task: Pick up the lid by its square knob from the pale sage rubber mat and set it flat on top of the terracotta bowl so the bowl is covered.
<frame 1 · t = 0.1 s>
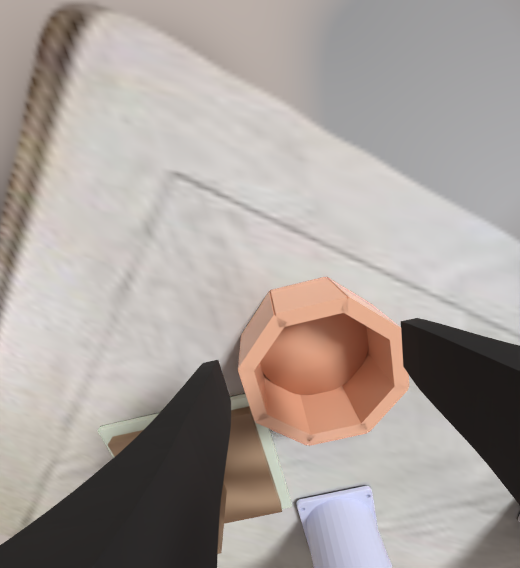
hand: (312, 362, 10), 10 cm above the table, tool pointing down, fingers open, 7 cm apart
bowl: (310, 343, 21), on the table
lid: (202, 471, 24), resting on mat
mat: (203, 466, 24), on the table
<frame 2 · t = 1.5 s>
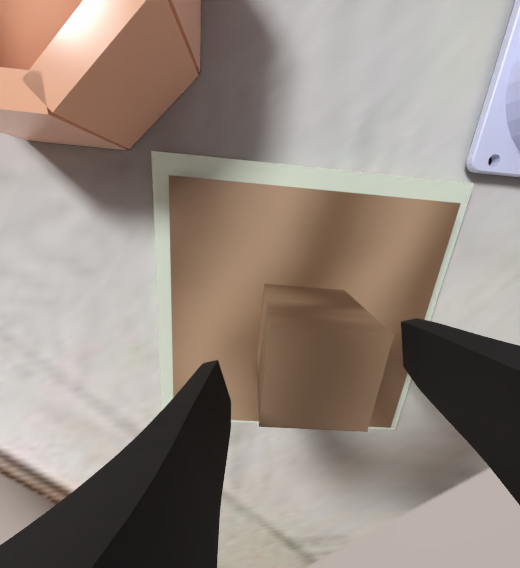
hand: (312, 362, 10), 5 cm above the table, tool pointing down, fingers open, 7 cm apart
lid: (296, 317, 13), resting on mat
mat: (295, 313, 14), on the table
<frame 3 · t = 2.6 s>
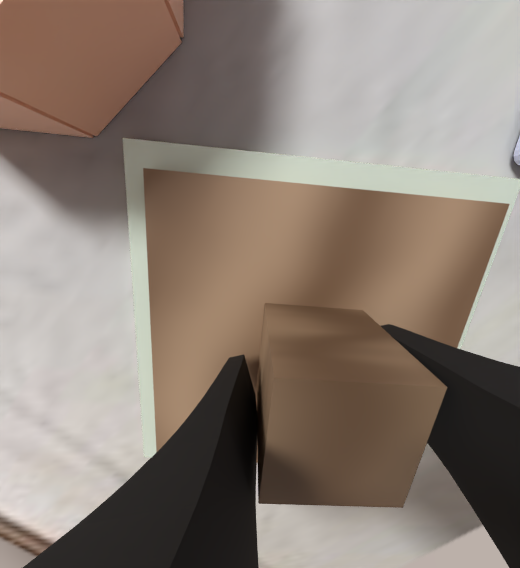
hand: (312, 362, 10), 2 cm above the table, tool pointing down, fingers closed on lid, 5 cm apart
lid: (303, 340, 11), resting on mat, touching gripper
mat: (301, 335, 12), on the table
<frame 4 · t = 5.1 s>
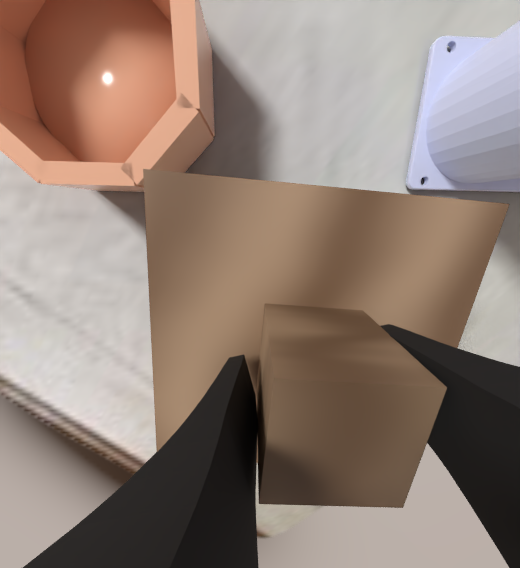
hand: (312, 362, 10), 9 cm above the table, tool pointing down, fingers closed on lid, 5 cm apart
bowl: (119, 92, 14), on the table
lid: (303, 340, 11), point 7 cm above the table, touching gripper
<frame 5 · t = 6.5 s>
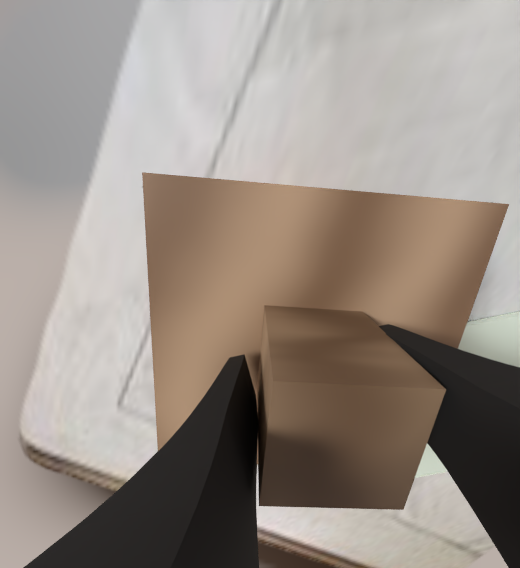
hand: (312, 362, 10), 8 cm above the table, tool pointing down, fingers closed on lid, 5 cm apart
lid: (303, 342, 11), point 7 cm above the table, touching gripper
mat: (439, 404, 21), on the table
when the fingers open (8 cm above the table, at t = 7.5 s): lid drops 1 cm, resting on bowl.
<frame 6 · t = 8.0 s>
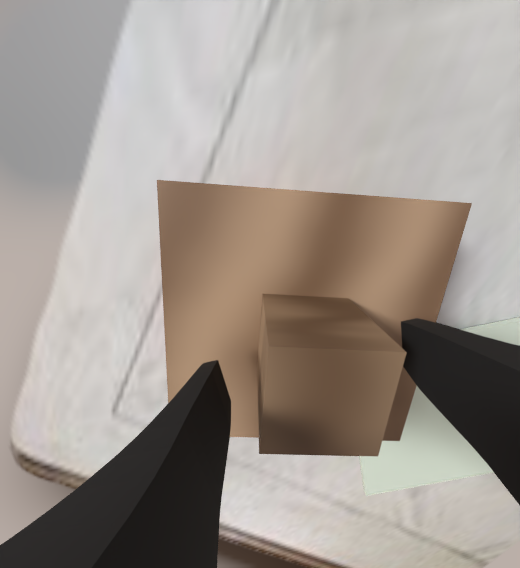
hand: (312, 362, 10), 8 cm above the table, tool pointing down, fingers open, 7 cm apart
lid: (297, 327, 13), point 4 cm above the table, touching bowl
mat: (445, 411, 20), on the table
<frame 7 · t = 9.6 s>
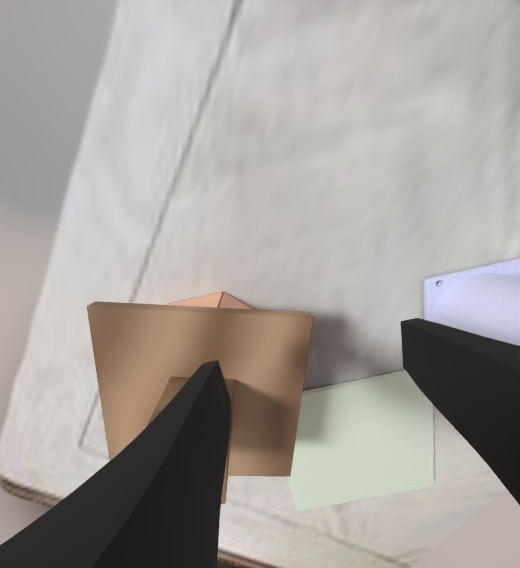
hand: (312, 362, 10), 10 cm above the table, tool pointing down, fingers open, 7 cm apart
bowl: (214, 355, 21), on the table
lid: (204, 394, 17), point 4 cm above the table, touching bowl
mat: (355, 442, 25), on the table
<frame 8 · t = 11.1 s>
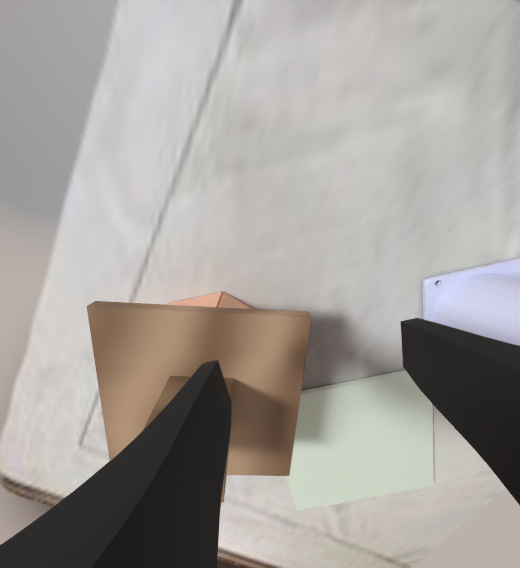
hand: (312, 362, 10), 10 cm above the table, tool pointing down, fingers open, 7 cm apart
bowl: (213, 355, 21), on the table
lid: (204, 393, 17), point 4 cm above the table, touching bowl
mat: (354, 442, 25), on the table
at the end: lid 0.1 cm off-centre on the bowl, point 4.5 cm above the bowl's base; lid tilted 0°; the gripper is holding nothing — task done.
